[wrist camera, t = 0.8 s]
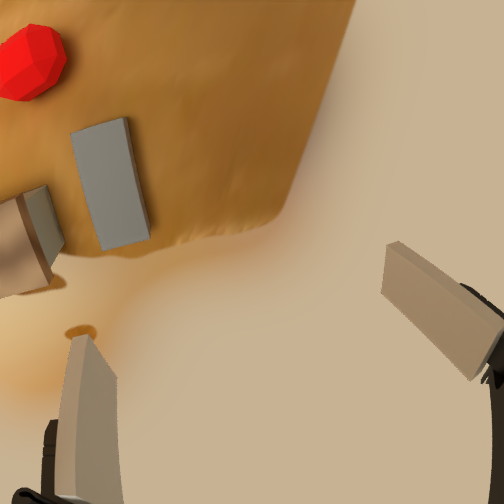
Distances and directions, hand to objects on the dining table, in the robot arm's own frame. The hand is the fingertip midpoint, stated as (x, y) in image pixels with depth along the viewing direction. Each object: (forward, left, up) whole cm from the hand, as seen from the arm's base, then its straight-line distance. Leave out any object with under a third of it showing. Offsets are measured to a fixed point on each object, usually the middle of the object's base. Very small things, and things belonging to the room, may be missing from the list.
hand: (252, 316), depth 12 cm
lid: (0, -26, -20) cm, 33 cm away
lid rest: (-2, -9, -27) cm, 28 cm away
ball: (-19, -16, -27) cm, 36 cm away
